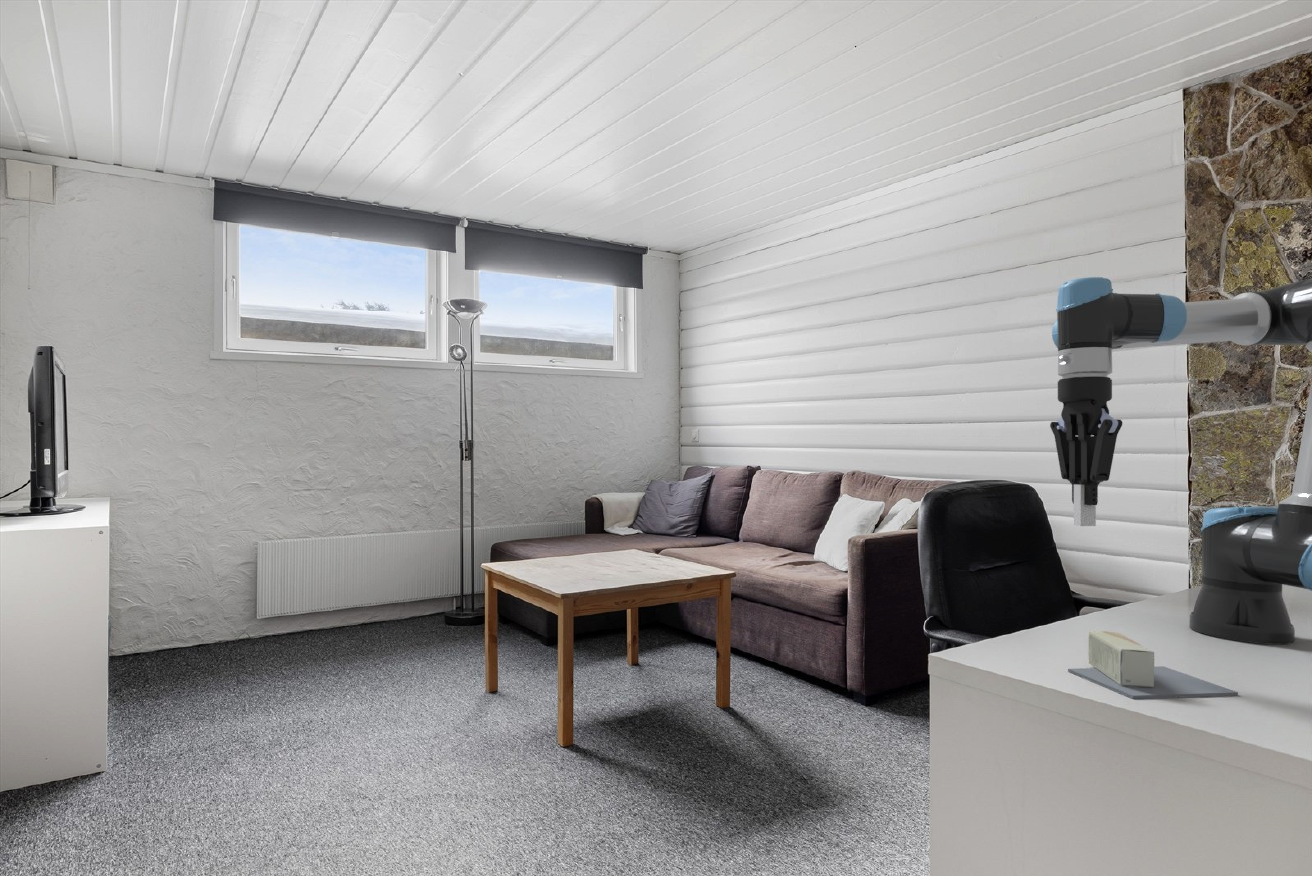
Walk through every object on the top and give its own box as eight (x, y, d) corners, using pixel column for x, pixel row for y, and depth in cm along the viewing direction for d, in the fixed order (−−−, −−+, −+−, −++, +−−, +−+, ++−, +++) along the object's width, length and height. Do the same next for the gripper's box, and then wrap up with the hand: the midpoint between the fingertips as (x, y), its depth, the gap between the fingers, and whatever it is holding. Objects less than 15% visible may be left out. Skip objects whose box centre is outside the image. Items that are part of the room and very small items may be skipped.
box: (1118, 665, 112) (1154, 690, 101) (1087, 663, 113) (1119, 688, 102) (1119, 630, 112) (1155, 651, 101) (1088, 628, 113) (1120, 649, 102)
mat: (1163, 669, 112) (1163, 666, 112) (1238, 695, 101) (1238, 692, 101) (1068, 671, 110) (1068, 668, 110) (1132, 698, 98) (1132, 695, 98)
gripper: (1035, 380, 125) (1035, 521, 125) (1094, 372, 112) (1094, 530, 112) (1075, 381, 126) (1075, 521, 126) (1138, 373, 114) (1138, 529, 113)
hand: (1084, 525), depth 119 cm, fingers closed
